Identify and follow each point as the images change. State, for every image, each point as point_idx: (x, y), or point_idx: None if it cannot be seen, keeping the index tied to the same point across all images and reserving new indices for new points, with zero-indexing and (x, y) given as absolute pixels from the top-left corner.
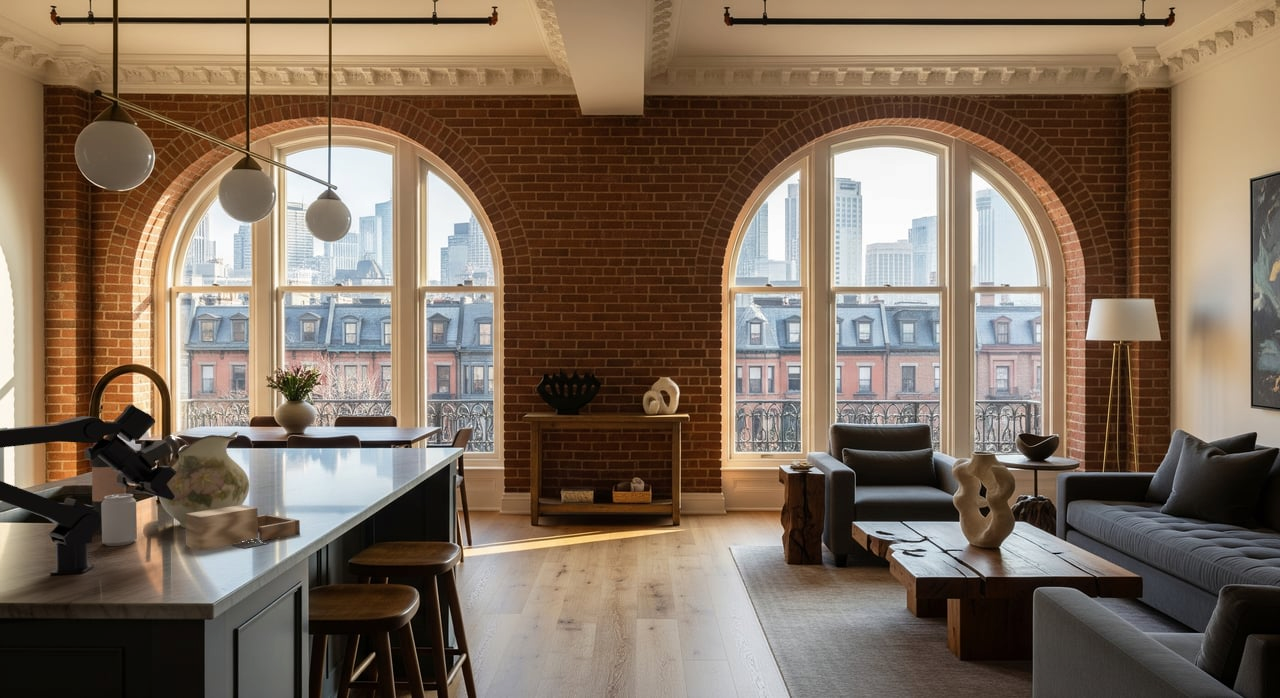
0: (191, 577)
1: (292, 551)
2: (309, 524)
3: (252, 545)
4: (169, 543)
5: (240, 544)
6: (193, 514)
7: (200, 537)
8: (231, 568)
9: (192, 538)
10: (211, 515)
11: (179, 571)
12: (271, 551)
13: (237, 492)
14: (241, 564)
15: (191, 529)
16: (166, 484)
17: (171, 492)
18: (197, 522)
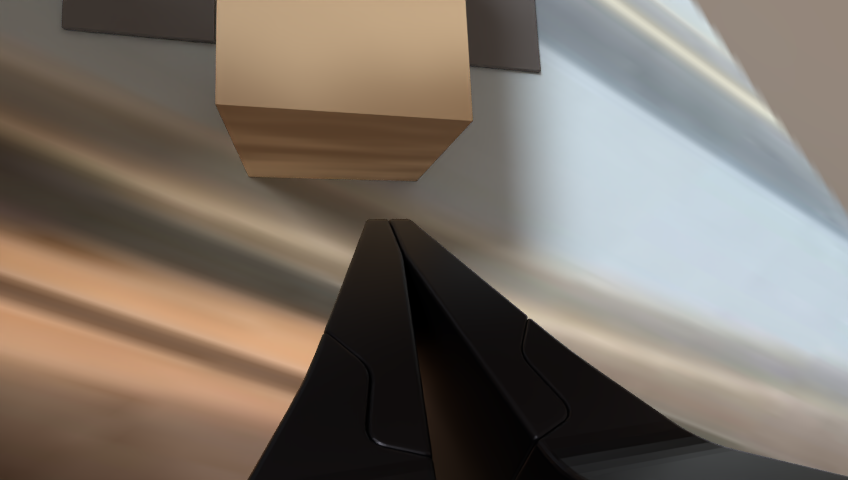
0: (803, 403)
1: (702, 19)
2: None
3: (526, 31)
4: (85, 197)
5: (468, 41)
6: (315, 90)
7: (422, 163)
8: (779, 264)
9: (328, 165)
10: (467, 51)
11: (706, 402)
12: (653, 52)
13: None
14: (753, 216)
15: (318, 148)
16: (579, 364)
17: (453, 262)
18: (411, 134)
